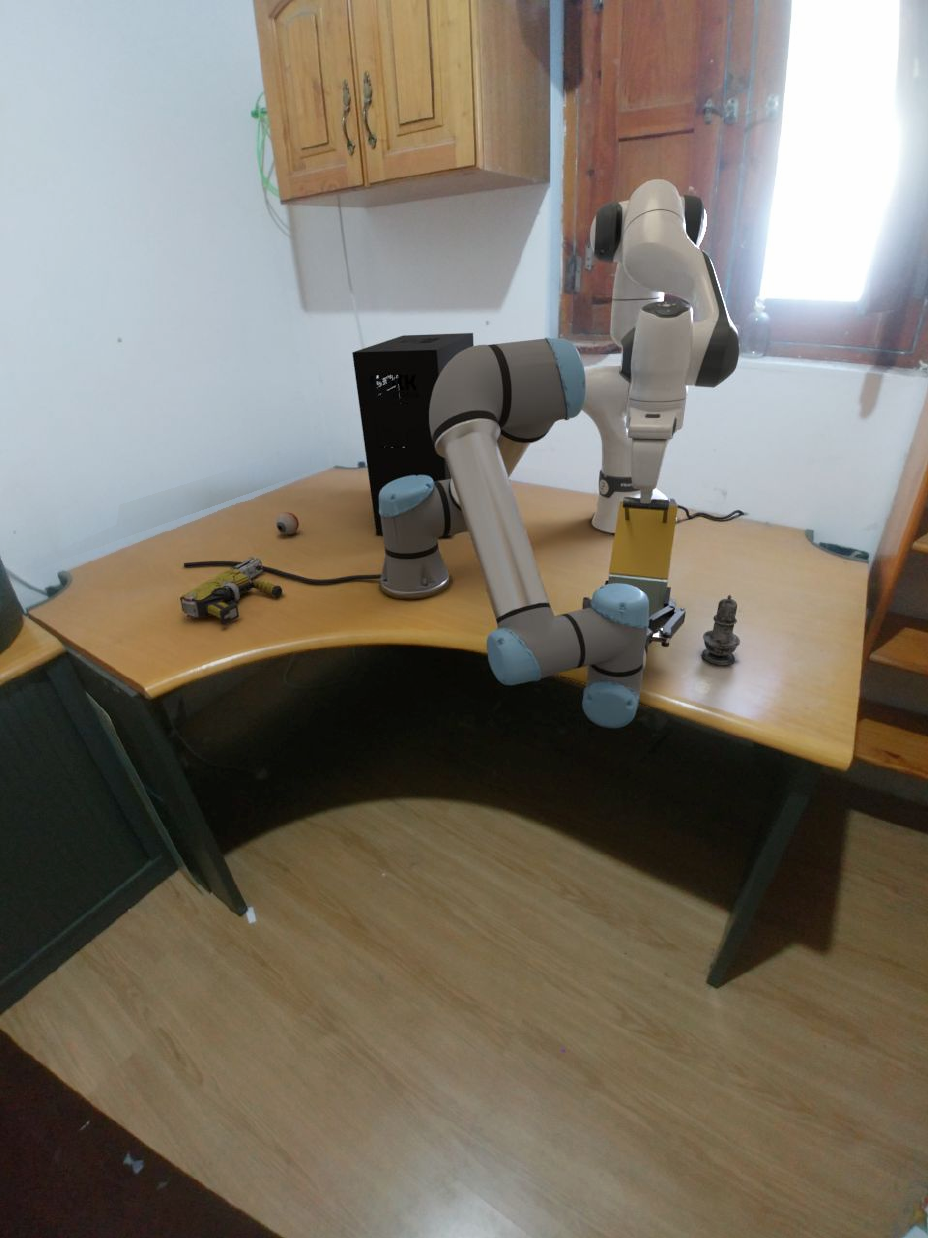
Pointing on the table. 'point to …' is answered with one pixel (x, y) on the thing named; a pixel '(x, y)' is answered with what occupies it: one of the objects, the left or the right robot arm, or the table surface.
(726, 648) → the dark grey chess piece
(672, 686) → the table surface
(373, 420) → the black computer tower
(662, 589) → the chest
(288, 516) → the eyeball
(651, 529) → the lid
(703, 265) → the right robot arm
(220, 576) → the yellow angle grinder
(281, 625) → the table surface
